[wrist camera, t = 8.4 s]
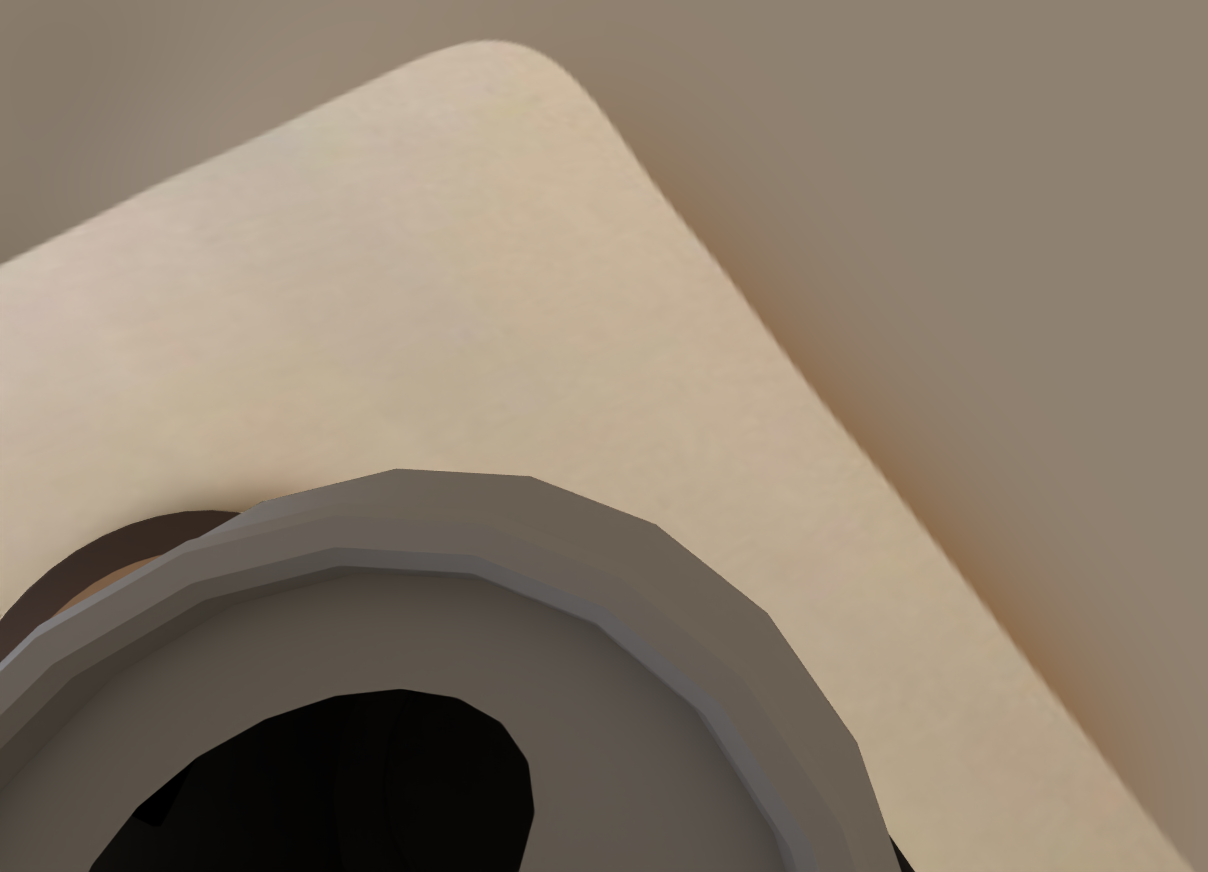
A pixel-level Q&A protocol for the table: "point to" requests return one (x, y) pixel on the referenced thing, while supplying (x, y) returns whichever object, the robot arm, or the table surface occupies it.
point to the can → (427, 701)
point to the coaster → (101, 568)
